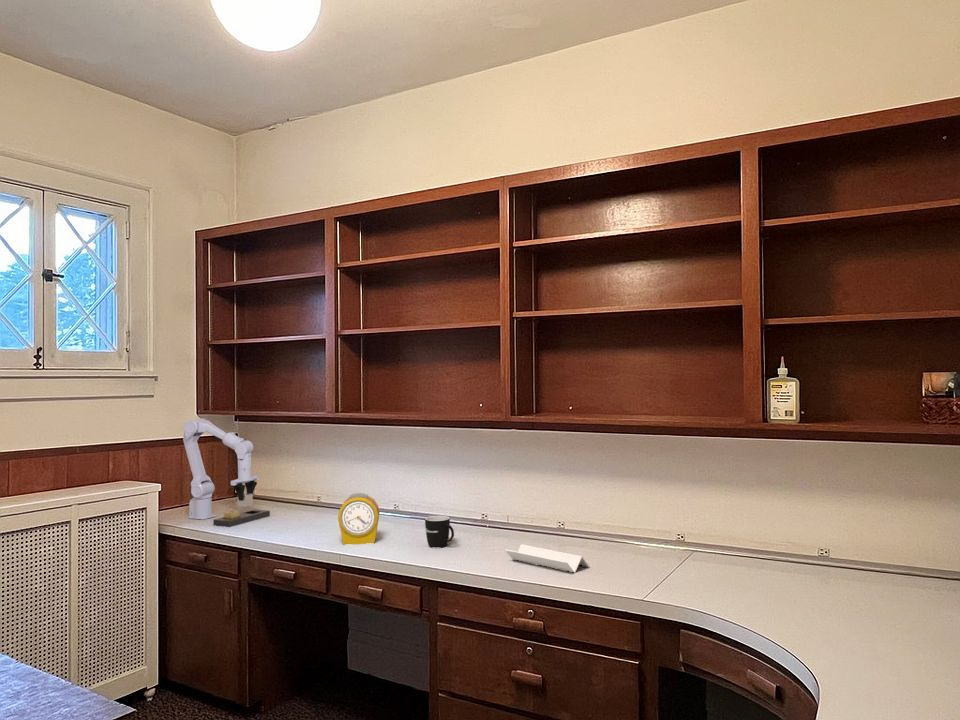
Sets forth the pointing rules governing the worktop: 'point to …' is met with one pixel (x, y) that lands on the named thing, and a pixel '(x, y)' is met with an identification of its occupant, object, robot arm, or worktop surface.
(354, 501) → the alarm clock
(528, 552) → the z bracket
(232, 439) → the robot arm
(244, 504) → the cube with round knob
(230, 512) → the yellow block with knob
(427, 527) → the mug
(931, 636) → the worktop surface
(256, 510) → the dark grey socket board
